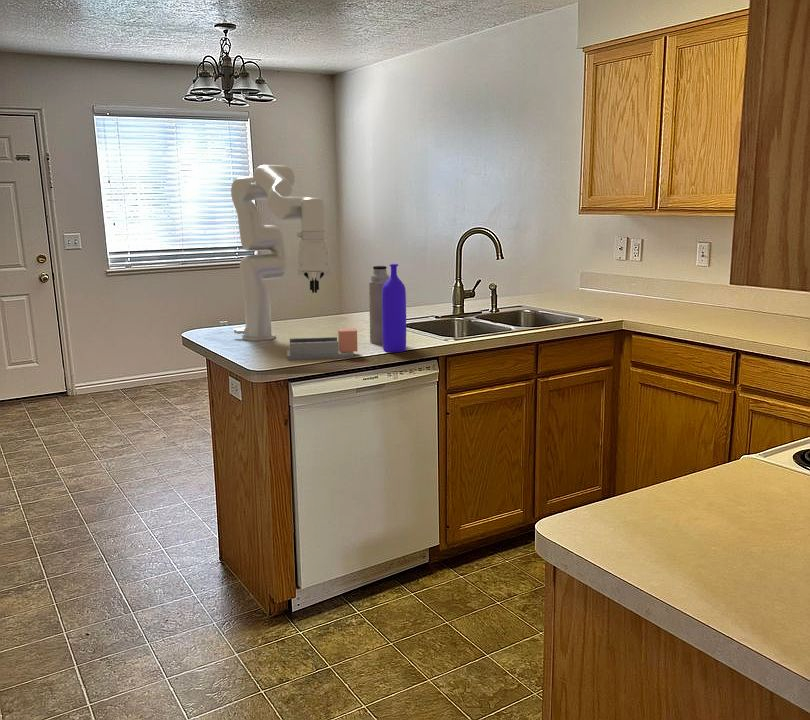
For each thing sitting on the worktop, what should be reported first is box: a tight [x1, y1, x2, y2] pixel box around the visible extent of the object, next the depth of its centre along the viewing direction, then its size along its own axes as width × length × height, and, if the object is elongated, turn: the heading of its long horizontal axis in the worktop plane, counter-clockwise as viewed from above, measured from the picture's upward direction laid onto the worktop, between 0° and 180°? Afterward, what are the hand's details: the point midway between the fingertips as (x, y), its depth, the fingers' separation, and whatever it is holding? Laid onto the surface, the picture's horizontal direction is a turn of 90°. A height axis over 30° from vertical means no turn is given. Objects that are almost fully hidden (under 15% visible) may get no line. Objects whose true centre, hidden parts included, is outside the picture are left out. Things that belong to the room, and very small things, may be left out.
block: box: [337, 327, 358, 353], centre depth 252 cm, size 6×6×7 cm
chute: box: [286, 336, 355, 361], centre depth 251 cm, size 22×10×6 cm, turn 98°
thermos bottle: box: [368, 265, 390, 345], centre depth 272 cm, size 8×8×28 cm
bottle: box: [382, 263, 407, 353], centre depth 257 cm, size 8×8×30 cm
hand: (314, 292), depth 247 cm, fingers closed
